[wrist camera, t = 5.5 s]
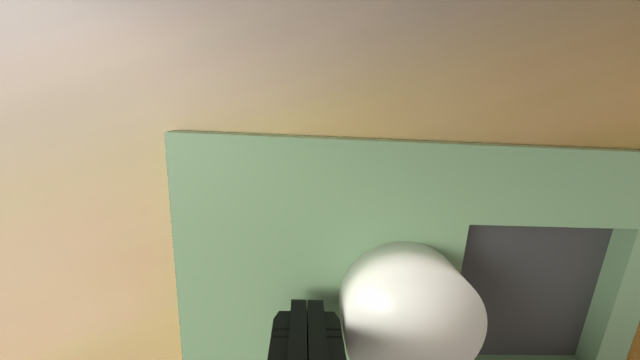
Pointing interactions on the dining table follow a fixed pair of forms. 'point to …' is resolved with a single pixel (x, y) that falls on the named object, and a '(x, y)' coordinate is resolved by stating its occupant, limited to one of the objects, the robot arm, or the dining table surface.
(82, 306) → the dining table surface
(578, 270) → the putting board
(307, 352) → the robot arm
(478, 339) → the white dome knob
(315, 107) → the dining table surface
